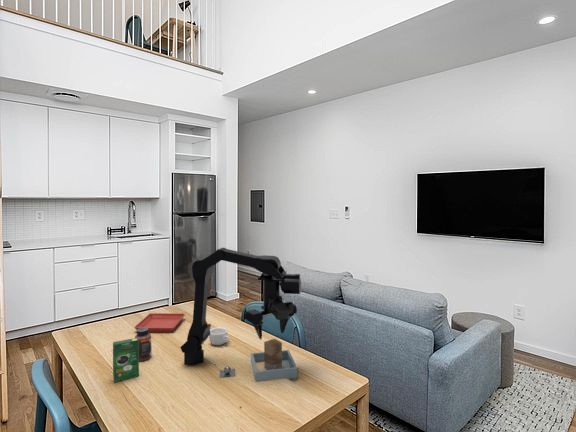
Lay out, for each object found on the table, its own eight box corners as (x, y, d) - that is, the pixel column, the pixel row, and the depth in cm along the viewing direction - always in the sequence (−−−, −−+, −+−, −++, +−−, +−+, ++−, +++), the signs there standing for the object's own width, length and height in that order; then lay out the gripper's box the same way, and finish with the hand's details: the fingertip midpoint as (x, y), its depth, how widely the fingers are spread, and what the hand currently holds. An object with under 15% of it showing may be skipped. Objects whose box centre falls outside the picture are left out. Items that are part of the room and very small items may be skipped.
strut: (271, 374, 125) (271, 346, 124) (264, 368, 128) (264, 341, 127) (281, 370, 127) (281, 342, 126) (274, 365, 131) (274, 338, 130)
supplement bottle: (155, 356, 139) (154, 327, 138) (143, 363, 134) (142, 333, 133) (143, 353, 142) (143, 325, 141) (131, 359, 136) (130, 330, 135)
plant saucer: (173, 334, 161) (173, 327, 161) (133, 334, 162) (133, 327, 161) (185, 319, 179) (185, 313, 179) (149, 319, 180) (149, 313, 179)
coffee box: (138, 372, 127) (137, 336, 126) (140, 376, 124) (138, 339, 124) (113, 379, 122) (111, 341, 122) (114, 382, 120) (113, 344, 119)
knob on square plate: (219, 380, 121) (219, 371, 121) (219, 372, 127) (219, 363, 126) (235, 379, 122) (235, 369, 122) (234, 371, 128) (234, 362, 127)
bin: (255, 384, 119) (255, 372, 119) (250, 363, 133) (250, 353, 133) (297, 379, 122) (297, 368, 122) (288, 359, 136) (288, 349, 136)
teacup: (205, 344, 150) (204, 331, 150) (218, 337, 157) (218, 325, 156) (221, 350, 144) (221, 337, 144) (235, 343, 151) (235, 331, 150)
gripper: (260, 303, 114) (260, 350, 115) (306, 293, 125) (306, 337, 126) (243, 294, 123) (244, 339, 124) (287, 286, 134) (287, 327, 135)
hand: (271, 335), depth 127 cm, fingers open, 9 cm apart
